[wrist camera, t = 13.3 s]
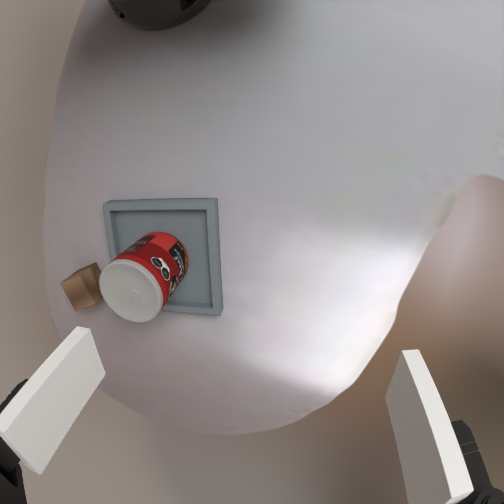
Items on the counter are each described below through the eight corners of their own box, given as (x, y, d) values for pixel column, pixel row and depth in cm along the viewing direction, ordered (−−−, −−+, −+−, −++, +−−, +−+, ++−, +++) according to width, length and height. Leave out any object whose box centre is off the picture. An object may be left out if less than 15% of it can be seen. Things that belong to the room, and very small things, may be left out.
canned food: (184, 288, 43) (156, 333, 33) (135, 270, 43) (97, 308, 33) (196, 240, 40) (166, 276, 30) (142, 222, 40) (100, 251, 30)
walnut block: (77, 270, 46) (60, 283, 41) (96, 262, 44) (79, 275, 40) (91, 295, 47) (75, 310, 43) (110, 289, 46) (95, 304, 41)
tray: (110, 200, 40) (102, 203, 38) (217, 198, 39) (214, 201, 37) (126, 299, 46) (120, 305, 44) (223, 308, 44) (220, 315, 43)
